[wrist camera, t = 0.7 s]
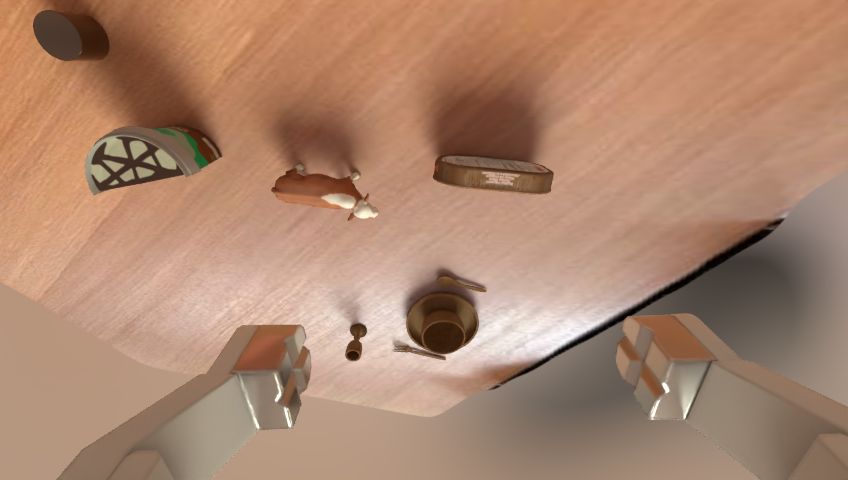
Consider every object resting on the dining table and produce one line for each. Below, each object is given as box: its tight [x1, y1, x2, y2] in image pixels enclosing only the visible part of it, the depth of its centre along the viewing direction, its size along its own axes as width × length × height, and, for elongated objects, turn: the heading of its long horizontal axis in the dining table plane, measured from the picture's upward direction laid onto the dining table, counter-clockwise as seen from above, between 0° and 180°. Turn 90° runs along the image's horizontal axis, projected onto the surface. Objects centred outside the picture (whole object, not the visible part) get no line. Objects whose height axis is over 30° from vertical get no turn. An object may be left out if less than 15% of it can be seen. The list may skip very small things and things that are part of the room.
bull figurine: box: [271, 164, 378, 221], centre depth 48 cm, size 4×13×8 cm, turn 77°
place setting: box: [345, 276, 486, 361], centre depth 59 cm, size 18×20×6 cm
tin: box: [433, 155, 554, 195], centre depth 47 cm, size 15×3×8 cm, turn 84°
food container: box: [85, 125, 222, 195], centre depth 44 cm, size 12×6×10 cm, turn 101°
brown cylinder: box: [33, 10, 109, 61], centre depth 42 cm, size 5×5×4 cm
